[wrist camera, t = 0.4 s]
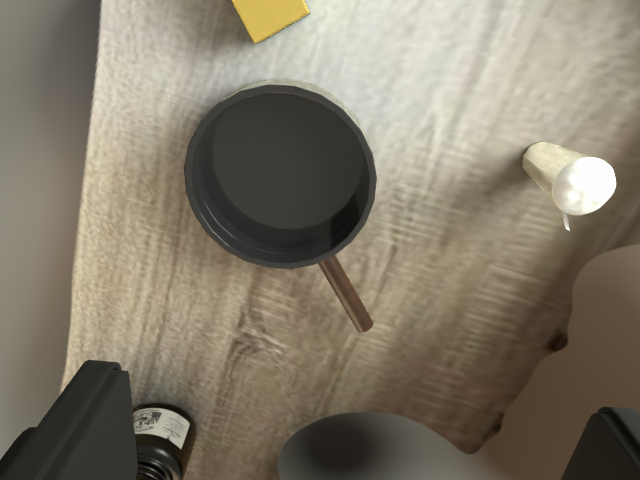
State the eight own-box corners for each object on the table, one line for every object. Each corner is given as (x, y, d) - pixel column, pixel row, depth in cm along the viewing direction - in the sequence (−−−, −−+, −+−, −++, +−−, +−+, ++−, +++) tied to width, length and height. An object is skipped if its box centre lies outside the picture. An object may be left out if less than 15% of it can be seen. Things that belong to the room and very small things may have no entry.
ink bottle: (193, 398, 55) (161, 489, 44) (207, 450, 59) (179, 546, 48) (115, 402, 56) (63, 493, 45) (133, 453, 60) (89, 548, 49)
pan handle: (315, 253, 44) (314, 262, 42) (332, 245, 43) (332, 254, 42) (356, 324, 47) (357, 335, 46) (372, 317, 47) (374, 328, 45)
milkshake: (498, 175, 43) (543, 216, 34) (536, 124, 41) (595, 153, 32) (536, 198, 44) (590, 243, 35) (575, 149, 42) (644, 184, 33)
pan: (163, 132, 42) (145, 144, 38) (321, 43, 38) (321, 45, 34) (255, 271, 48) (248, 294, 44) (399, 205, 44) (406, 223, 40)
